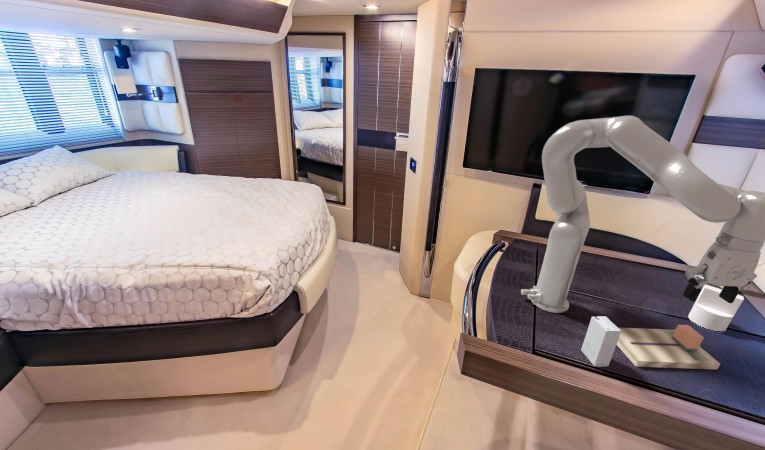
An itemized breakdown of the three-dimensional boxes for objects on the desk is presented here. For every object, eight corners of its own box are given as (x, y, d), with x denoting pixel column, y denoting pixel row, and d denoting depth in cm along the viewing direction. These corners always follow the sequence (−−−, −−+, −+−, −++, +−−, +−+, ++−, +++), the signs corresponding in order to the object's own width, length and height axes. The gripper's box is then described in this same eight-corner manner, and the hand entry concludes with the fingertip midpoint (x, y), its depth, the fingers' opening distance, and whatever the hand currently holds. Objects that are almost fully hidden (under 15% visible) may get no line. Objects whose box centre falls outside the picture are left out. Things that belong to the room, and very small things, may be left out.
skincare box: (609, 366, 86) (624, 331, 81) (593, 367, 85) (607, 331, 81) (593, 349, 91) (607, 315, 87) (578, 349, 91) (591, 315, 86)
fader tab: (685, 350, 89) (693, 337, 87) (671, 337, 93) (677, 324, 92) (696, 351, 89) (704, 337, 87) (681, 338, 93) (688, 325, 92)
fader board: (635, 366, 86) (638, 360, 85) (605, 332, 98) (607, 327, 97) (717, 369, 86) (720, 363, 85) (677, 335, 98) (679, 329, 97)
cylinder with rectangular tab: (686, 321, 104) (703, 291, 99) (689, 309, 110) (704, 280, 105) (725, 336, 98) (744, 304, 93) (725, 323, 104) (743, 292, 99)
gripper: (718, 247, 75) (686, 306, 82) (791, 250, 75) (753, 309, 82) (690, 233, 81) (663, 289, 88) (757, 236, 82) (725, 292, 89)
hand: (706, 299), depth 85 cm, fingers open, 9 cm apart
